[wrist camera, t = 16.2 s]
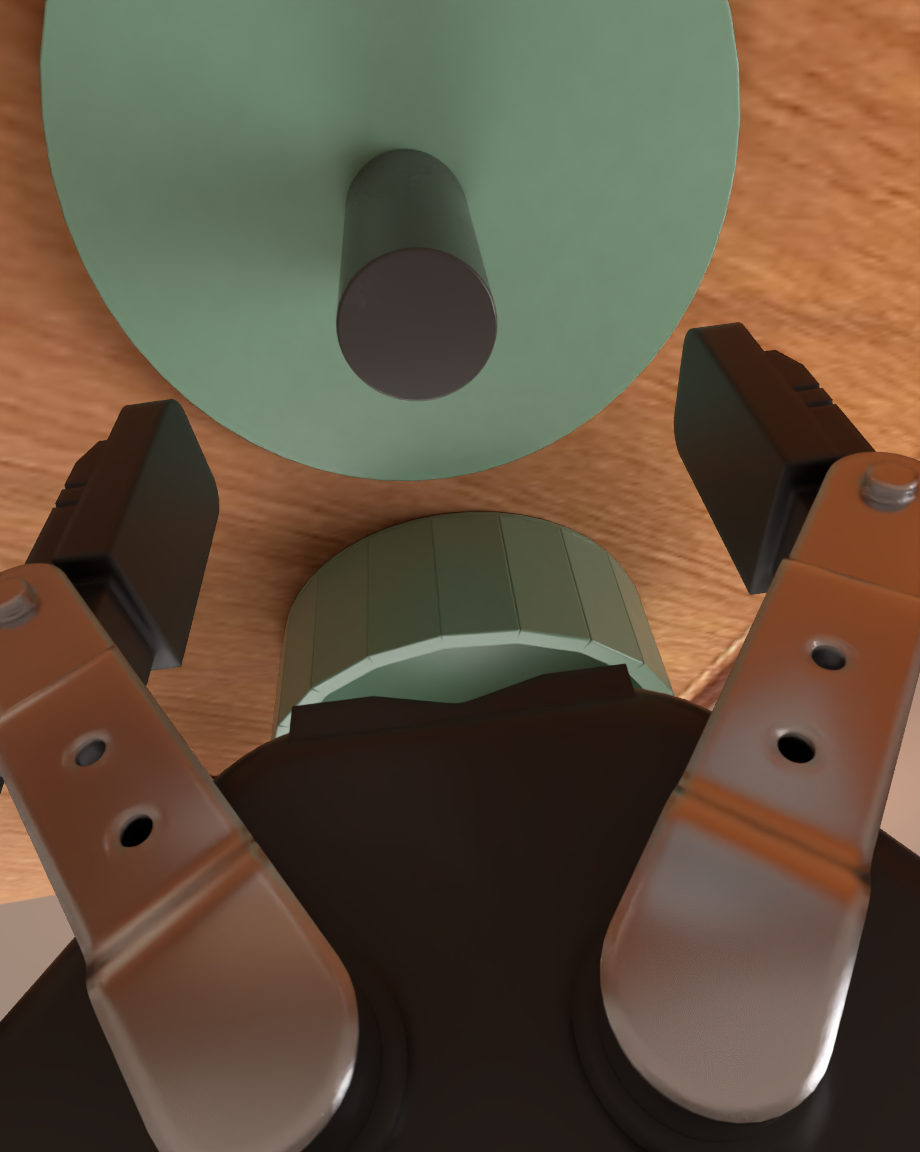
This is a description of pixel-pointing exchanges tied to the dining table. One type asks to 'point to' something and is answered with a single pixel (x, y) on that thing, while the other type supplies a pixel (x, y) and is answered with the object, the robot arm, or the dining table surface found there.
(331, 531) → the dining table surface
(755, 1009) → the robot arm
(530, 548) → the tin
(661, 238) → the tin lid
